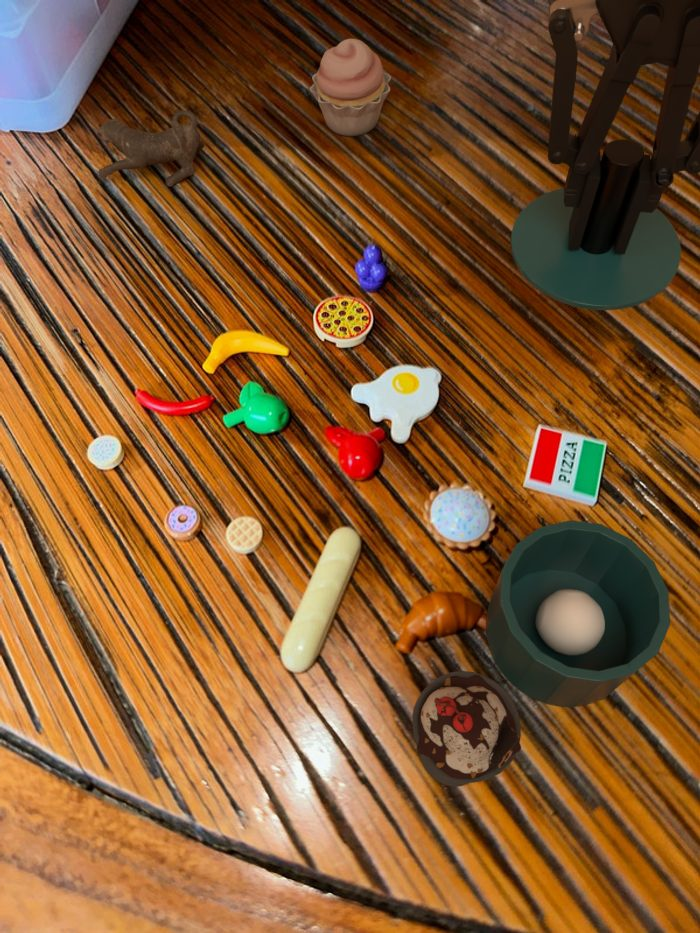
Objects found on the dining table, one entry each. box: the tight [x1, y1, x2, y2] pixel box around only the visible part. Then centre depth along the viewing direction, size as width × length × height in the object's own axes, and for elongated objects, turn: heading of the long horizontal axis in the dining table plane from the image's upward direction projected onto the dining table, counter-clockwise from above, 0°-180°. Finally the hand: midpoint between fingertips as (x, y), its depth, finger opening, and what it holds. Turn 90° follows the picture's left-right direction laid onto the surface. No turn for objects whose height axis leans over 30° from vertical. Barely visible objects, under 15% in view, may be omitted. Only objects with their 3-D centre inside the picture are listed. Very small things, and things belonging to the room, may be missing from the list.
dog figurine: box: [97, 109, 206, 187], centre depth 84 cm, size 12×6×7 cm, turn 90°
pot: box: [485, 519, 671, 708], centre depth 56 cm, size 11×11×8 cm
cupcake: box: [309, 38, 392, 137], centre depth 86 cm, size 9×9×10 cm
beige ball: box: [536, 589, 605, 656], centre depth 57 cm, size 5×5×5 cm
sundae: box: [411, 670, 522, 787], centre depth 49 cm, size 7×7×15 cm
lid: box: [510, 138, 682, 311], centre depth 54 cm, size 12×12×9 cm
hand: (596, 238), depth 57 cm, fingers closed on lid, 3 cm apart
